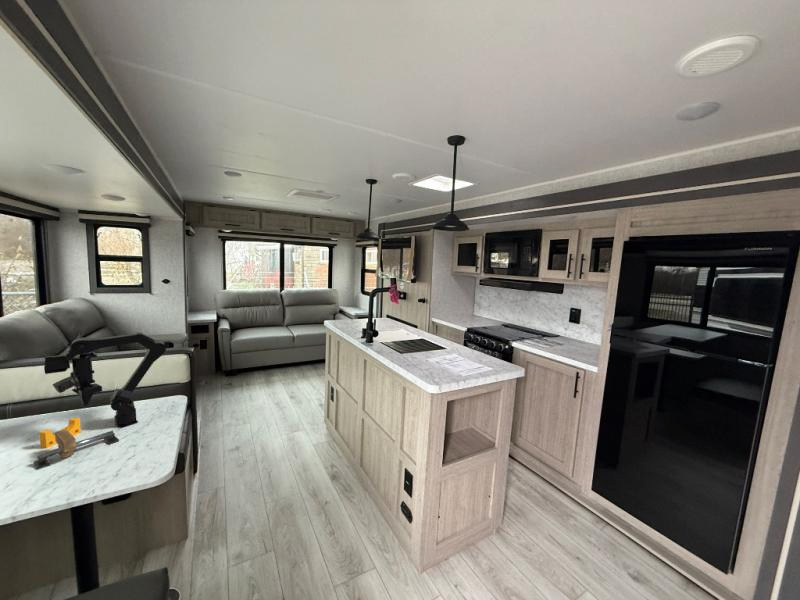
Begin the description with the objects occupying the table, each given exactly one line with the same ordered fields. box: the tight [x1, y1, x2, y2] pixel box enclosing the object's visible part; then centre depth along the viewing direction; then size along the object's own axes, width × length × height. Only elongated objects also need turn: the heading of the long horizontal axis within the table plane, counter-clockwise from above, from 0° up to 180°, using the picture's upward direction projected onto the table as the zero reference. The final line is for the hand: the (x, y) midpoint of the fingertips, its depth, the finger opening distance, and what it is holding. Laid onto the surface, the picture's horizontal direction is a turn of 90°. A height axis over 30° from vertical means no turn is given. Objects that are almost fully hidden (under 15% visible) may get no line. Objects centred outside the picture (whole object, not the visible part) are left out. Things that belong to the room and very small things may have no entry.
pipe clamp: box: [38, 417, 82, 449], centre depth 128 cm, size 12×4×6 cm, turn 174°
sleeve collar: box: [54, 429, 77, 459], centre depth 118 cm, size 3×12×7 cm, turn 57°
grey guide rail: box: [33, 430, 120, 470], centre depth 121 cm, size 22×6×4 cm, turn 147°
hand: (85, 405), depth 133 cm, fingers closed
